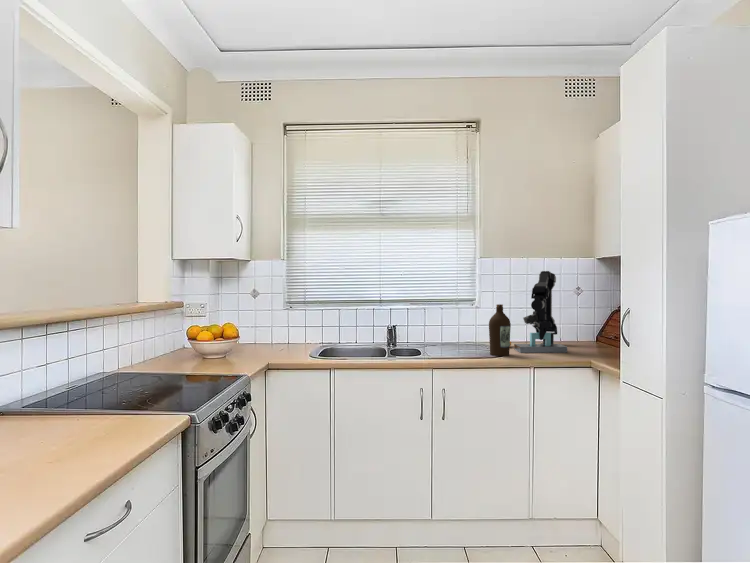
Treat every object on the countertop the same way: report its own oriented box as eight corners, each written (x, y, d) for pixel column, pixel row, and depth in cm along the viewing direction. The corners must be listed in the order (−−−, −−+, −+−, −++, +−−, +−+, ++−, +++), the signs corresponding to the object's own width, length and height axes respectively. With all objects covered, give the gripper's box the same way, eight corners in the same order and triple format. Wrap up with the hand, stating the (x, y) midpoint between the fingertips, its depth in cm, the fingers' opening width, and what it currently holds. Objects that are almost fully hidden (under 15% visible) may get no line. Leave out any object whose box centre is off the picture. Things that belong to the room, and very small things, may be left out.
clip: (529, 347, 295) (529, 332, 295) (548, 347, 295) (549, 332, 295) (531, 348, 292) (531, 333, 292) (550, 348, 292) (550, 333, 292)
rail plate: (514, 349, 300) (514, 343, 300) (559, 349, 300) (559, 343, 300) (520, 352, 288) (520, 346, 288) (567, 352, 288) (567, 346, 288)
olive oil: (484, 354, 283) (484, 304, 283) (499, 352, 289) (499, 303, 288) (499, 356, 274) (499, 305, 274) (515, 355, 280) (515, 304, 280)
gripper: (519, 308, 303) (519, 337, 303) (530, 310, 284) (530, 341, 284) (540, 308, 303) (540, 337, 303) (552, 310, 284) (552, 341, 285)
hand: (540, 339), depth 294 cm, fingers closed on clip, 3 cm apart
